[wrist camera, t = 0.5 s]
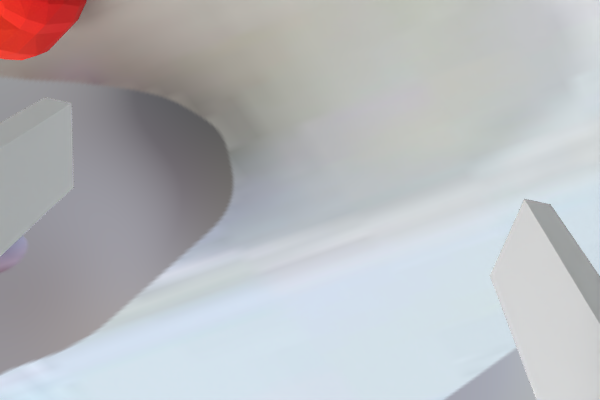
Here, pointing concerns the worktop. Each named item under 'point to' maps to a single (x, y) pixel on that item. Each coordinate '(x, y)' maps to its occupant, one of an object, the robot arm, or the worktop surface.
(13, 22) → the tomato
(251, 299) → the worktop surface
